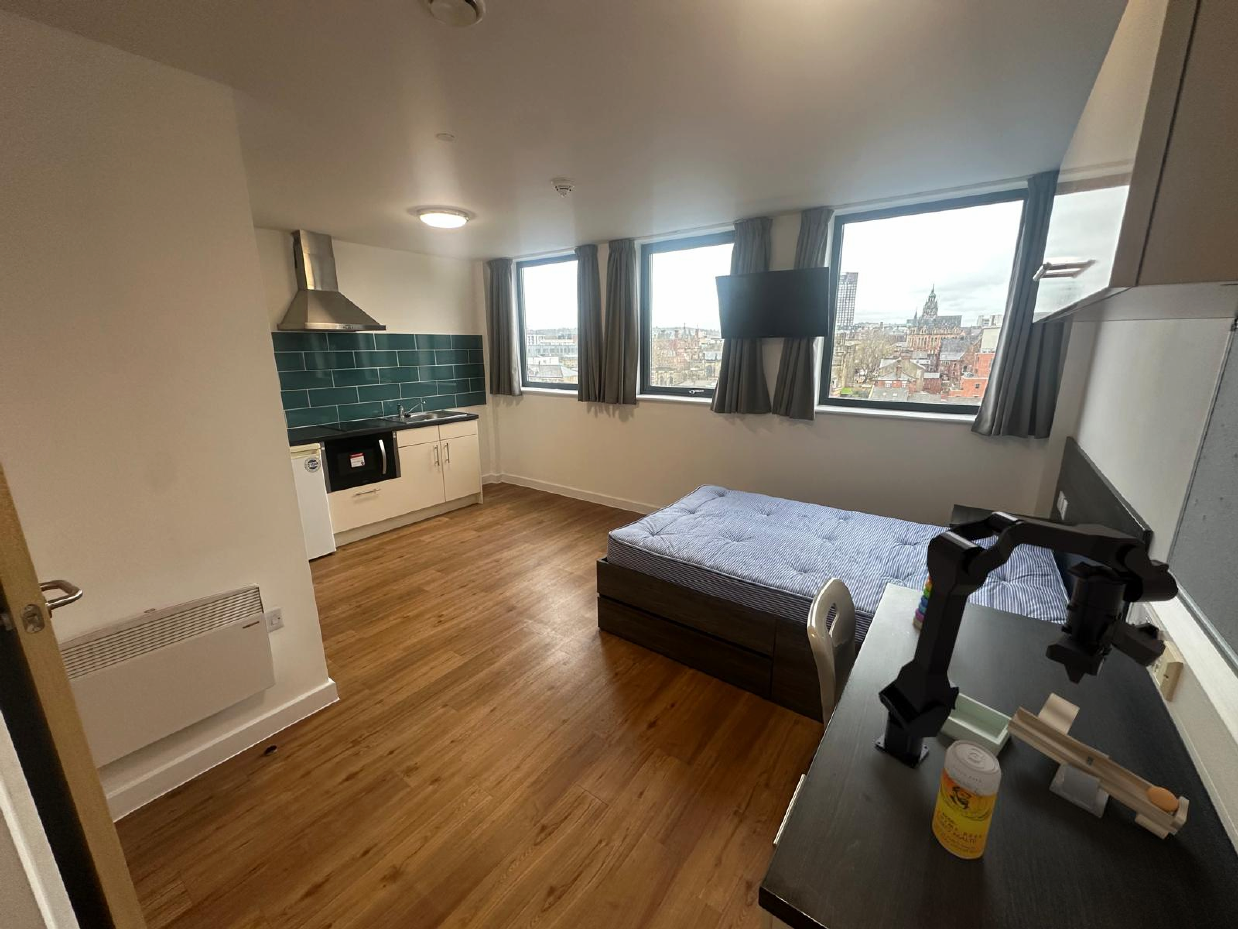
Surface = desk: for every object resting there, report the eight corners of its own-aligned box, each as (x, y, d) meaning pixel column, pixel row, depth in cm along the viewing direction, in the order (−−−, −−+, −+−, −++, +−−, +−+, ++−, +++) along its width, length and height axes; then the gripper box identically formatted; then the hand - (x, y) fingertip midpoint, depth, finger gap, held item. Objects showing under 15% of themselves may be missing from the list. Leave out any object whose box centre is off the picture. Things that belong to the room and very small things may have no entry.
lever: (1168, 844, 68) (1185, 822, 66) (1001, 737, 82) (1011, 717, 80) (1180, 779, 77) (1195, 759, 76) (1029, 694, 92) (1039, 675, 90)
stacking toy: (949, 640, 115) (962, 569, 110) (910, 628, 120) (922, 559, 115) (951, 625, 121) (964, 557, 116) (914, 614, 126) (925, 548, 121)
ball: (1164, 820, 68) (1183, 811, 67) (1139, 799, 70) (1157, 790, 69) (1167, 808, 70) (1185, 799, 69) (1142, 788, 72) (1159, 779, 70)
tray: (993, 761, 82) (997, 744, 81) (935, 728, 89) (938, 712, 88) (1010, 735, 87) (1014, 719, 86) (953, 706, 94) (956, 691, 93)
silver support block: (1100, 818, 72) (1110, 788, 71) (1049, 789, 77) (1056, 761, 75) (1111, 788, 77) (1119, 760, 75) (1061, 763, 81) (1069, 736, 80)
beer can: (926, 840, 69) (943, 755, 65) (937, 812, 73) (953, 731, 69) (977, 872, 65) (998, 784, 61) (986, 841, 69) (1006, 755, 65)
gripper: (1157, 646, 68) (1129, 737, 72) (1176, 603, 78) (1151, 685, 82) (1055, 612, 77) (1035, 695, 80) (1084, 578, 87) (1065, 652, 91)
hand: (1074, 682), depth 83 cm, fingers closed
